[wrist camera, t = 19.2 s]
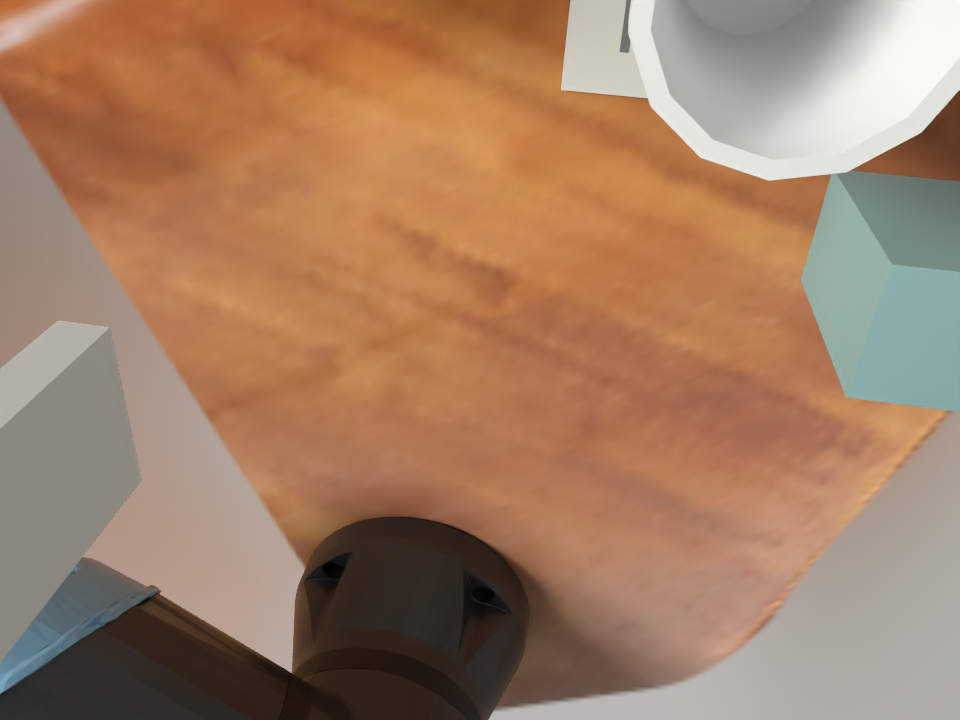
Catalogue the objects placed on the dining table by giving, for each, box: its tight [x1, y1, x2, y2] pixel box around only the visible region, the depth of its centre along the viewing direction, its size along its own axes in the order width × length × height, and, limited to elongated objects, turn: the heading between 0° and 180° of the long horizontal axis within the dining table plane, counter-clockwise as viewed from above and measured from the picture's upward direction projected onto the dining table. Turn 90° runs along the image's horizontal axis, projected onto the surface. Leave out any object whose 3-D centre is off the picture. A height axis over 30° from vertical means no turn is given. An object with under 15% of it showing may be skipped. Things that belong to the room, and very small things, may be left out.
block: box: [801, 171, 960, 412], centre depth 34 cm, size 6×6×10 cm
